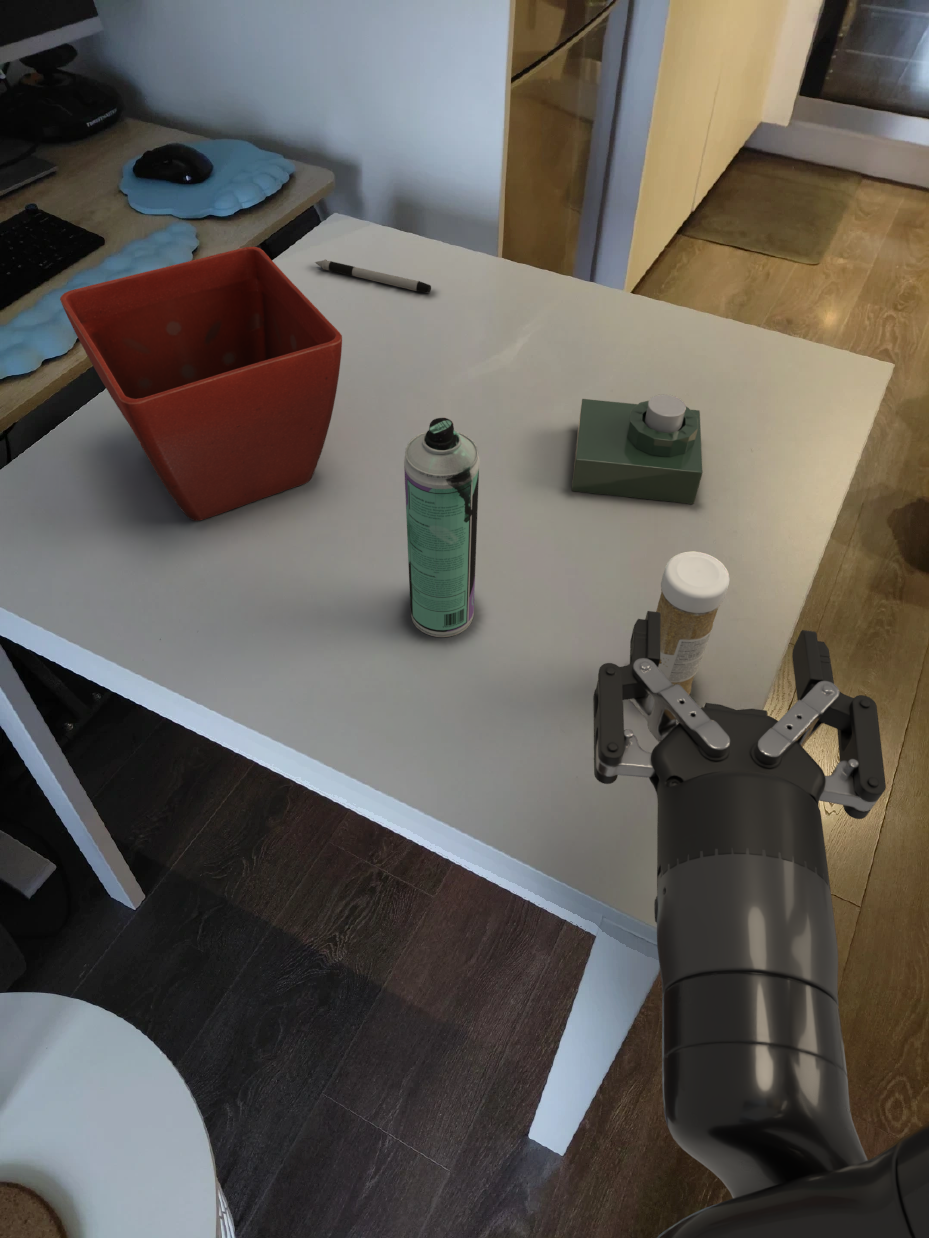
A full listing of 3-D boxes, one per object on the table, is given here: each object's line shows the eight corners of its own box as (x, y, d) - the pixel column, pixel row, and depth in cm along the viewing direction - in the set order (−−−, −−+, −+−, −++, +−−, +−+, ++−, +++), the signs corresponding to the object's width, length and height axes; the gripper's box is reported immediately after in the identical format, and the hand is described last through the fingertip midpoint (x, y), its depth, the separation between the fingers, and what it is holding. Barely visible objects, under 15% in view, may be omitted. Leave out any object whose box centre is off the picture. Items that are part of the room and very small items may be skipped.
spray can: (485, 606, 79) (495, 417, 64) (451, 647, 76) (453, 458, 61) (433, 581, 81) (430, 392, 65) (398, 620, 77) (387, 431, 62)
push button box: (691, 441, 95) (704, 393, 90) (693, 504, 88) (707, 455, 83) (577, 430, 96) (584, 381, 91) (571, 491, 89) (578, 442, 84)
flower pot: (360, 489, 89) (347, 337, 76) (173, 559, 82) (123, 404, 69) (281, 391, 99) (257, 242, 87) (109, 446, 92) (56, 293, 80)
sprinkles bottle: (626, 670, 74) (655, 554, 64) (677, 660, 75) (714, 544, 65) (647, 714, 71) (681, 600, 61) (700, 703, 72) (742, 589, 62)
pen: (427, 296, 113) (427, 286, 112) (312, 269, 117) (311, 259, 116) (432, 291, 114) (431, 281, 113) (317, 264, 118) (316, 255, 117)
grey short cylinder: (681, 413, 88) (685, 395, 87) (682, 435, 86) (686, 418, 85) (644, 409, 89) (648, 392, 87) (644, 432, 86) (647, 414, 85)
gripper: (940, 887, 37) (879, 600, 48) (594, 838, 38) (609, 568, 49) (874, 956, 43) (833, 686, 53) (574, 911, 44) (592, 655, 54)
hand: (726, 630), depth 51 cm, fingers open, 8 cm apart
